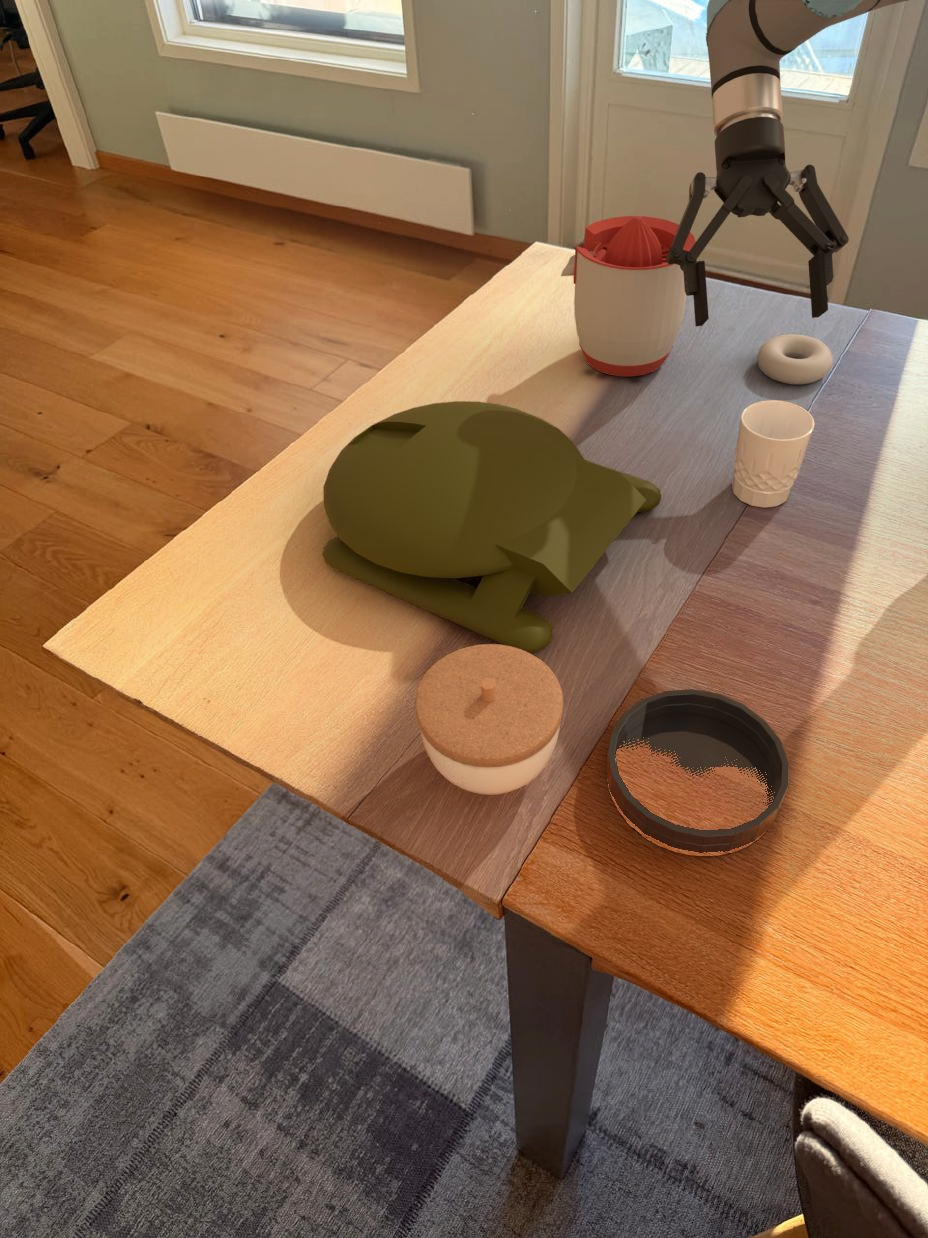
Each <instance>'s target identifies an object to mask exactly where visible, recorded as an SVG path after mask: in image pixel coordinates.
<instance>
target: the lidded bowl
mask: <svg viewBox="0 0 928 1238" xmlns="http://www.w3.org/2000/svg"><path fill="white" fill-rule="evenodd" d="M414 710H415V716H416V720H417V721H416V722H417V725H418V726H419V731H420V732H419V733H420V736H421V737H420V738H421V741H422V744H423V746H424V749H425V751H426V754H427V756H428V758H429V759H430V761H431V763H432V764H433V766H434V767H435V769H436V770H437V771H438V772H439V773H440V774H441V775H442V776H443V777H444V778H445V779H446V780H447V781H449V782H450V783H451V784H452V785H454V786H456V787H458V788H460V789H462V790H464V791H467V792H470V793H474V794H479V795H488V796H492V795H493V796H494V795H502V794H503V795H504V794H508V793H510V792H513V791H516V790H518V789H520V788H522V787H524V786H526V785H528V784H529V783H531V782H532V781H533V780H535V779H536V778H537V776H539V775H540V773H542V771H544V769H545V768H546V767H547V765H548V763H549V762H550V759H552V755H553V754H554V752H555V750H556V746H557V742H558V740H559V734H560V731H561V722H562V718H563V713H564V694H563V689H562V687H561V684H560V682H559V680H558V678H557V676H556V675H555V673H554V672H553V671H552V669H551V668H550V667H549V666H548V665H547V664H546V663H545V662H543V660H541V659H540V658H538V657H537V656H535V655H533V654H532V653H528V652H526V651H524V650H521V649H518V648H515V647H511V646H506V645H502V644H500V643H498V644H495V643H485V644H475V645H469V646H466V647H463V648H459V649H456V650H455V651H453V652H451V653H449V654H446V655H445V656H443V657H441V658H440V659H439V660H437V661H436V662H435V663H434V664H433V665H432V666H430V668H429V669H427V671H426V672H425V673H424V675H423V677H422V678H421V680H420V681H419V683H418V686H417V689H416V692H415V697H414Z"/></svg>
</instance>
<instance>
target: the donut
mask: <svg viewBox="0 0 928 1238" xmlns="http://www.w3.org/2000/svg"><path fill="white" fill-rule="evenodd" d="M756 361H757V364H758V368H759V369H760V370H761V371H762V372H763V374H764V375H766V376H767V377H769V378H770V379H772V380H773V381H776V382H779V383H782V384H787V385H788V384H789V385H808V384H813V383H815V382H817V381H819V380H821V379H823V378H824V377H825V376H827V375H828V373H829V372H830V371H831V369H832V366H833V363H834V362H833V361H834V356H833V354H832V351H831V349H830V348H829V346H827V345H826V344H825V343H824V342H823V341H822V340H819V339H818V338H815V337H811V336H808V335H804V334H798V333H797V334H796V333H787V334H781V335H776V336H773V337H771V338H768V339H767V340H766V341H765V342H763V343H762V344H761V346H760V347H759V349H758V353H757V355H756Z"/></svg>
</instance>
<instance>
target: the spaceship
mask: <svg viewBox="0 0 928 1238" xmlns="http://www.w3.org/2000/svg"><path fill="white" fill-rule="evenodd" d="M661 500H662V493H661V489H659V487H658V486H657V485H656V484H655V483H653V482H651V481H649V480H646V479H643V478H641V477H637V476H634V475H631V474H628V473H625V472H623V471H620V470H618V469H617V470H616V469H615V468H614V469H613V468H610V467H608V466H605V465H602V464H599V463H597V462H593V461H591V460H587V459H585V457H584V456H583V454H582V453H581V451H580V450H579V449H578V447H577V446H576V444H575V443H574V442H573V441H572V440H571V438H570V437H568V436H567V435H566V434H565V433H564V432H563V431H562V430H561V429H560V428H558V427H556V426H555V425H553V424H551V423H549V422H548V421H547V420H545V419H544V418H541V417H538V416H536V415H534V414H531V413H529V412H526V411H524V410H521V409H519V408H515V407H511V406H507V405H502V404H499V403H494V402H493V403H492V402H484V401H473V400H471V401H469V400H468V401H465V400H463V401H461V400H459V401H458V400H457V401H456V400H455V401H445V402H435V403H430V404H424V405H420V406H416V407H411V408H409V409H405V410H402V411H400V412H397V413H394V414H391V415H390V416H388V417H386V418H384V419H381V420H380V421H377V422H375V423H373V424H372V425H370V426H369V427H367V428H365V429H364V430H363V431H361V432H360V433H358V434H357V435H356V436H354V437H353V438H352V439H351V440H350V441H349V442H348V443H347V444H346V445H345V446H344V447H343V448H342V449H341V450H340V451H339V453H338V455H337V456H336V458H335V459H334V461H333V462H332V465H331V466H330V468H329V470H328V472H327V476H326V478H325V482H324V485H323V508H324V511H325V514H326V517H327V520H328V523H329V525H330V527H331V528H332V529H333V531H334V532H335V534H336V536H335V537H333V538H331V539H330V540H328V541H327V542H326V544H325V545H324V546H323V547H322V558H323V560H324V562H325V564H327V565H328V566H329V567H331V568H332V569H334V570H337V571H338V572H341V573H344V574H346V575H348V576H350V577H352V578H354V579H356V580H359V581H361V582H363V583H366V584H368V585H369V586H372V587H374V588H376V589H379V590H381V591H383V592H385V593H387V594H389V595H392V596H394V597H396V598H399V599H401V600H403V601H405V602H407V603H409V604H412V605H413V606H417V607H418V608H421V609H423V610H425V611H428V612H429V613H432V614H434V615H436V616H438V617H440V618H443V619H445V620H447V621H450V622H452V623H454V624H456V625H458V626H460V627H462V628H464V629H467V630H469V631H471V632H474V633H476V634H478V635H480V636H483V637H485V638H487V639H488V640H491V641H493V642H495V643H498V644H499V645H506V646H511V647H515V648H518V649H521V650H524V651H526V652H528V653H530V654H532V653H537V652H539V651H542V650H544V649H546V648H547V647H548V646H549V645H550V644H551V641H552V640H553V638H554V637H553V636H554V633H553V626H552V625H551V623H550V621H549V620H548V619H546V618H545V617H543V616H542V615H540V614H538V613H536V612H534V611H531V610H529V609H527V608H525V607H523V606H524V605H525V603H526V601H527V599H528V597H529V595H530V593H531V594H534V595H537V596H539V597H541V598H544V597H551V596H552V597H553V596H559V595H566V594H572V593H574V592H575V590H576V589H577V587H578V586H579V585H580V584H581V582H582V581H583V580H584V578H586V576H587V575H588V574H589V572H590V571H591V570H592V569H593V567H594V566H595V565H596V564H597V563H598V561H599V560H600V559H601V557H602V556H603V555H604V554H605V552H606V551H607V550H608V548H609V547H610V546H611V545H612V544H613V542H614V541H615V540H616V538H617V537H618V536H619V535H620V534H621V532H622V531H623V530H624V529H625V527H626V526H627V525H628V523H629V522H630V521H631V520H632V519H633V517H634V516H635V515H636V513H640V512H642V513H644V512H649V511H651V510H653V509H655V508H656V507H657V506H659V505H660V502H661ZM471 577H472V578H473V577H481V579H480V581H479V583H478V585H477V587H476V586H473V585H471V584H469V583H466V582H464V581H462V580H459V579H464V578H471Z"/></svg>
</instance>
